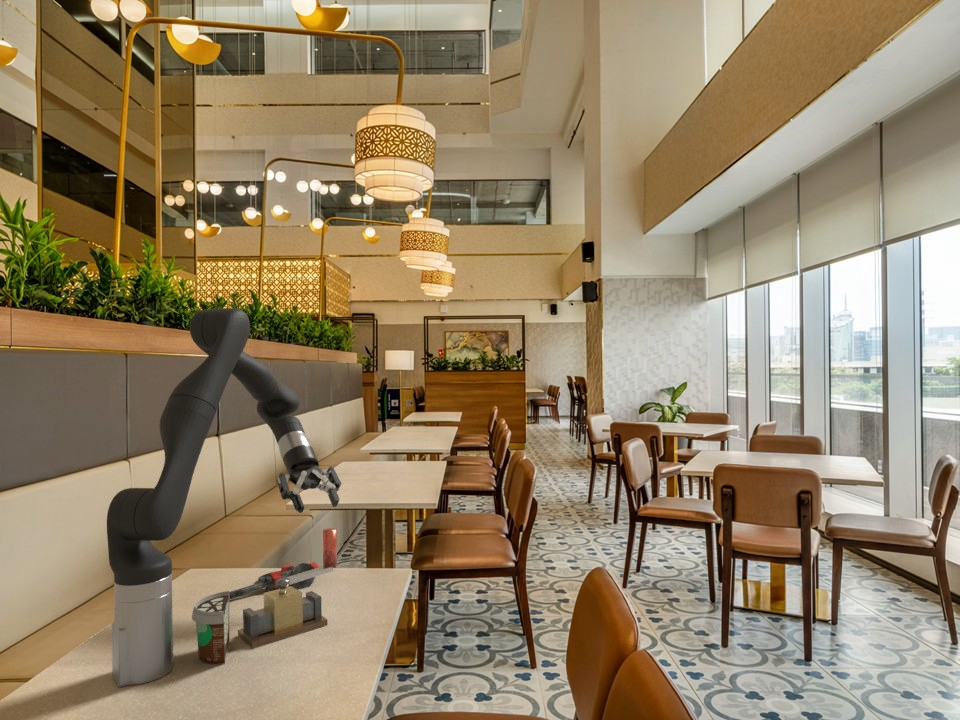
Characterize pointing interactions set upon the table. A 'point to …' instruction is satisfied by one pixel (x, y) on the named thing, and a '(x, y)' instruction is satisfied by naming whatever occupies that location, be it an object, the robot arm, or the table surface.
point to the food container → (212, 627)
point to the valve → (270, 578)
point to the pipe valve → (282, 617)
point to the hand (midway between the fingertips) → (319, 507)
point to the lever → (328, 561)
